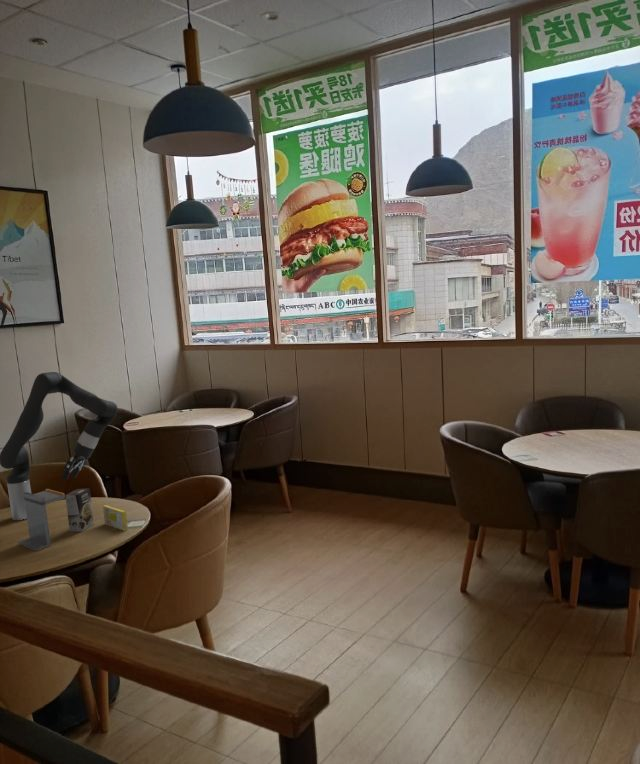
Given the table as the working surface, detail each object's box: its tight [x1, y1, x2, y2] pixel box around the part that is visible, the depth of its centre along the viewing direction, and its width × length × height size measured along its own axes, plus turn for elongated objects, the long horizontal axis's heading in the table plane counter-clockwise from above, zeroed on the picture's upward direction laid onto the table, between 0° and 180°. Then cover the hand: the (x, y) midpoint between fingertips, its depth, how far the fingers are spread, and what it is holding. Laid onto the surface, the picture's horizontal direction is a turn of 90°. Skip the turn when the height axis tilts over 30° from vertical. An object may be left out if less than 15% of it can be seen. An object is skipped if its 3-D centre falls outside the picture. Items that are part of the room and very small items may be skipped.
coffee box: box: [65, 488, 95, 533], centre depth 263 cm, size 9×6×16 cm
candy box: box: [102, 504, 128, 532], centre depth 261 cm, size 16×2×8 cm, turn 48°
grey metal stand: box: [17, 488, 66, 552], centre depth 250 cm, size 14×15×20 cm
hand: (68, 478), depth 256 cm, fingers open, 8 cm apart
